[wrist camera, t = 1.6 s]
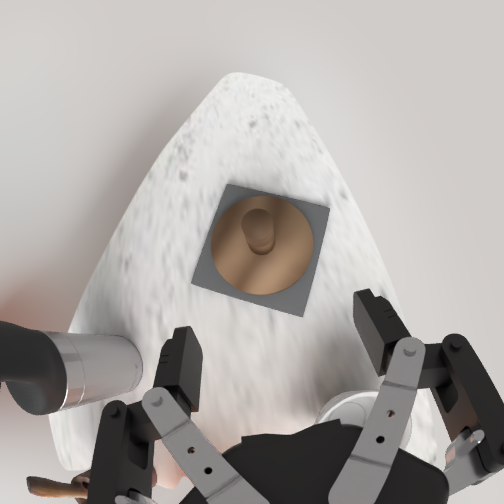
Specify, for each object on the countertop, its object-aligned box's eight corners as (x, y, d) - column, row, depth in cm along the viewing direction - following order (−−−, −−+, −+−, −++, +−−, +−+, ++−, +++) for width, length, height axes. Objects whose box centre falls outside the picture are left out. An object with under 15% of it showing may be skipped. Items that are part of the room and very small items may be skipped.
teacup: (270, 401, 35) (266, 424, 25) (371, 362, 35) (399, 370, 25) (296, 469, 31) (299, 504, 22) (392, 431, 31) (420, 454, 21)
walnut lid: (199, 278, 39) (179, 265, 31) (231, 190, 43) (220, 161, 35) (297, 307, 37) (301, 300, 29) (322, 212, 40) (330, 185, 32)
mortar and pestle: (104, 476, 32) (34, 517, 13) (98, 438, 34) (17, 470, 15) (162, 495, 31) (102, 557, 12) (158, 455, 33) (85, 512, 14)
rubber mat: (193, 284, 40) (191, 283, 39) (228, 186, 44) (227, 183, 43) (302, 317, 37) (302, 316, 36) (329, 211, 41) (330, 208, 40)
